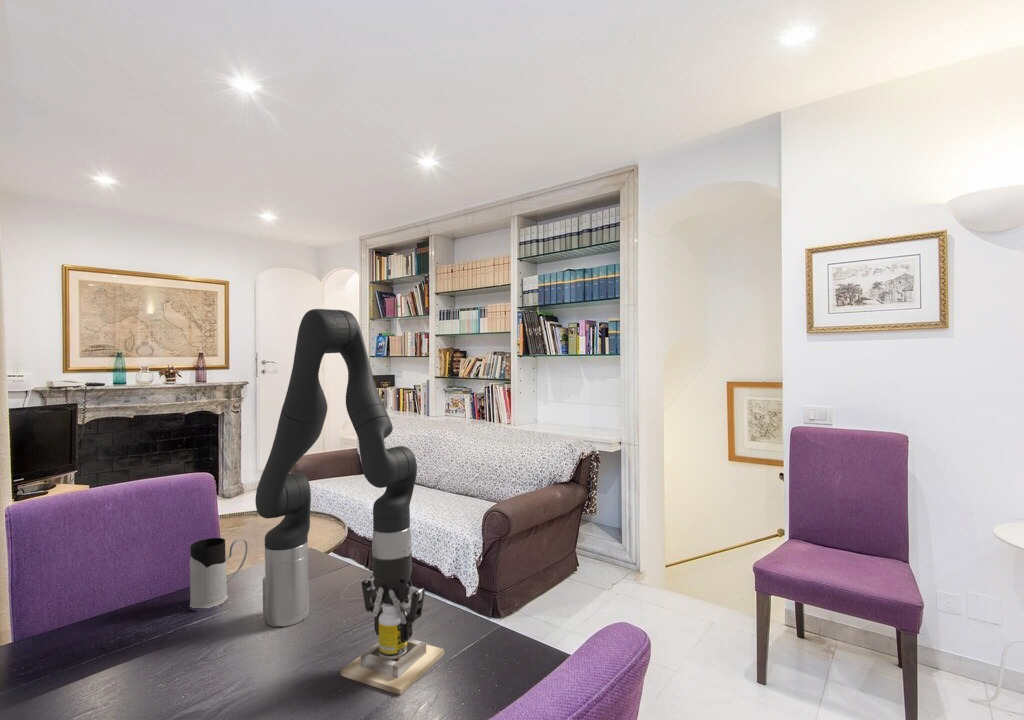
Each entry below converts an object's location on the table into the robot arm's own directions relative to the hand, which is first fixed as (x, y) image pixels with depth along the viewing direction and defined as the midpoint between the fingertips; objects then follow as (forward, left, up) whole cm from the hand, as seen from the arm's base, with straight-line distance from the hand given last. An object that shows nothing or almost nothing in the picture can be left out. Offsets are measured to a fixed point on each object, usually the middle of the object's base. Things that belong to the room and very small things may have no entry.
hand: (393, 636), depth 100 cm
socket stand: (0, 0, -5) cm, 5 cm away
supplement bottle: (0, 0, -3) cm, 3 cm away
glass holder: (-59, +5, -6) cm, 59 cm away
